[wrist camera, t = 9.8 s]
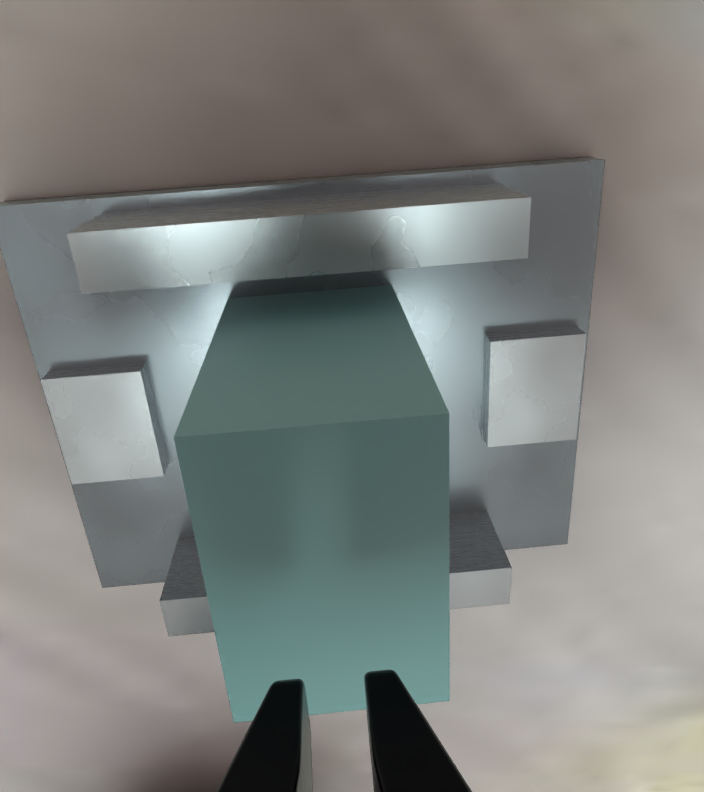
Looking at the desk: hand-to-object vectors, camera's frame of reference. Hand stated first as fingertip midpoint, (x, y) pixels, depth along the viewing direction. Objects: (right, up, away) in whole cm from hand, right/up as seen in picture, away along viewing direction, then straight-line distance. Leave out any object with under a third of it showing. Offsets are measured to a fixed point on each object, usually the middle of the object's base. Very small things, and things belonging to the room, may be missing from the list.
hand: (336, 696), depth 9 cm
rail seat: (-1, +4, +9) cm, 10 cm away
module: (-1, +4, +8) cm, 9 cm away
